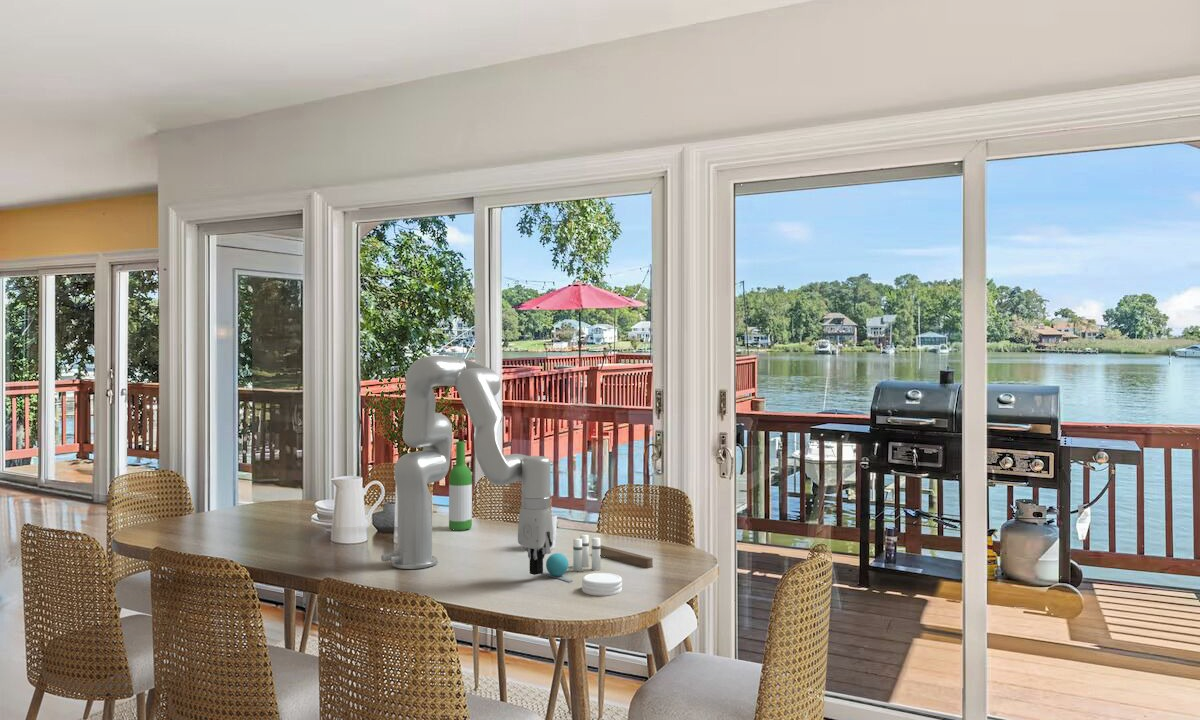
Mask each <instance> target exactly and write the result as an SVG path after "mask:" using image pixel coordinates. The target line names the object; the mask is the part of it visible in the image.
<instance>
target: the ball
mask: <svg viewBox="0 0 1200 720" xmlns="http://www.w3.org/2000/svg"><path fill="white" fill-rule="evenodd" d="M545 568H546V570H547V573H549V574H551V575H553V576H559V577H562V576H563V575H564V574H566V573H567V571H568V569H569V560H568V558H567V557H566V556H565V555H564V554H562V553H559V552H556V553H555V552H554V553H552V554H551V555H549V556H548V557H547V559H546V561H545Z"/></svg>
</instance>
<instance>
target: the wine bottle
mask: <svg viewBox="0 0 1200 720" xmlns="http://www.w3.org/2000/svg"><path fill="white" fill-rule="evenodd" d="M465 443H466V442H465V441H456V444H455V445H456V447H455V448H456V449H455V455H456V456H455V466H453V467H452V468H451V470H450V472H449V475H448V479H449V480H448V528H449V529H450V530H451V529H454V530H464V531H467V530H466V529H469V530H470V529H471V528H472V526H473V524H472V523H473V520H472V519H473V501H472V500H473V497H472V496H473V481H472V480H473V478H472V477H473V475H472V471H471V469H470V468H469V467H468V466H467V465H466V444H465ZM454 530H453V531H454Z"/></svg>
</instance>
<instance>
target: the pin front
mask: <svg viewBox="0 0 1200 720" xmlns="http://www.w3.org/2000/svg"><path fill="white" fill-rule="evenodd" d="M572 544H573V545H572V548H573V553H572V554H573V556H572V557H573V558H572V559H573V564H572V565H573V566H572V567H573V569H572V570H574V571H573V572H577V571H579V572H582V571H583V567H582V539H580V537H579V538H573V543H572Z"/></svg>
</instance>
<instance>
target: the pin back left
mask: <svg viewBox="0 0 1200 720" xmlns="http://www.w3.org/2000/svg"><path fill="white" fill-rule="evenodd" d="M589 537H590V535H589V534H580V535H579V539H582V568H588V567H589V566H590V565H589V562H590V561H589V556H590V555H589V552H590V550H589V545H590V541H589V539H590V538H589ZM587 566H588V567H587Z"/></svg>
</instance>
